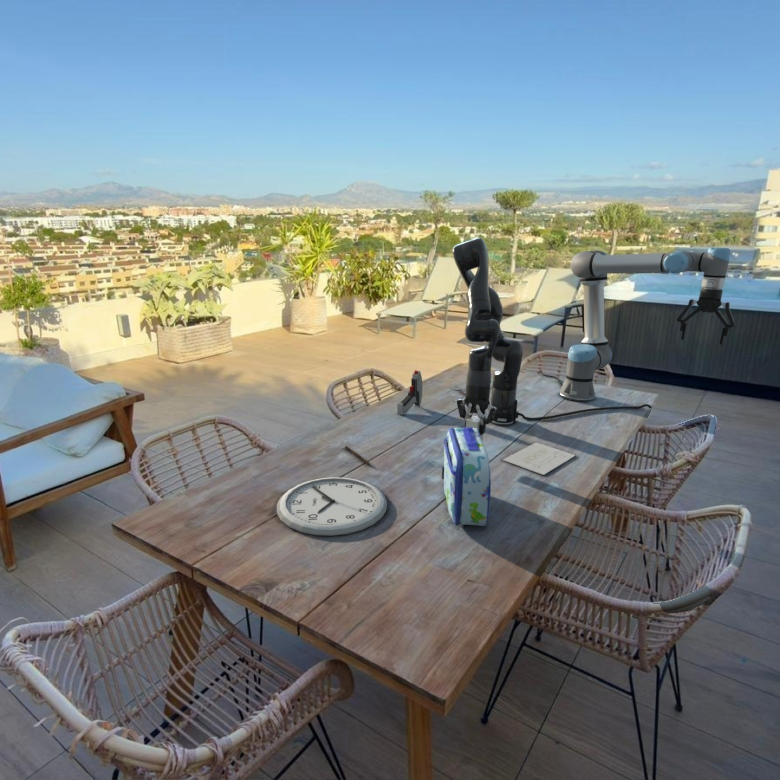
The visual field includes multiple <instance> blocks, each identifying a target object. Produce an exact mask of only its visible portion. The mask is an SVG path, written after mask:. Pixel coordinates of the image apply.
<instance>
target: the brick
mask: <svg viewBox="0 0 780 780" xmlns="http://www.w3.org/2000/svg"><path fill="white" fill-rule="evenodd" d="M479 425H480V420H479V418H478V415H472V417H470V418H468V419H467V420H466V427H472V428H477V429H478V430H479ZM480 436H481V440H482V442H484V434H483V435H480Z"/></svg>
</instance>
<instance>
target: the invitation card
mask: <svg viewBox="0 0 780 780" xmlns="http://www.w3.org/2000/svg"><path fill="white" fill-rule="evenodd" d="M576 456H577V455H576V454H573V453H570V452H567V451H565V450H561V449H558V448H555V447H552V446H549V445H546V444H543V443H539V442H534V443H532V444H529V445H528V446H526V447H524V448H522V449H520V450H518V451H516V452H514V453H512V454H510V455H509V456H507V457H505V458H503V459H502V461H503V462H506V463H509V464H511V465H514V466H518V467H520V468H523V469H525V470H528V471H531V472H534V473H536V474H539V475H541V476H545V475H547V474H548V473H550V472H552V471H554V469H556V468H558V467H559V466H561V465H563V464H564V463H566V462H568V461H570V460H571V459H572V458H574V457H576Z"/></svg>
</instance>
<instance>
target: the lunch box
mask: <svg viewBox="0 0 780 780" xmlns="http://www.w3.org/2000/svg"><path fill="white" fill-rule="evenodd" d="M483 442H484V441H483ZM483 442H482V440H481V436H480V433H479V430H478V429H477V428H472V427H466V428H465V427H449V428H448V431H447V435H446V437H445V439H444V440H443V448H444V450H443V465H442V466H441V467H442V468H441V480H443V493H444V495H445V500H446V506H447V510H448V515H449V517H450V519H451V521H452V523H453V524H454V525H455V527H458V526H465V525H469V526H480V527H485V526H487V524H488V521H489V516H490V507H491V490H492V489H491V487H492V483H491V481H492V480H491V479H492V478H491V477H492V476H491V467H490V463H489V455H488V451H487V449H486V447H485V445H484V443H483Z"/></svg>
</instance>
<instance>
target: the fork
mask: <svg viewBox="0 0 780 780" xmlns="http://www.w3.org/2000/svg"><path fill="white" fill-rule="evenodd" d="M450 385H451V387H452V389H453V390H457V391H458V392H459V393H460V394H462V395H463V396H465V397H466V392H464V391H463V390H460V389H459V387H458V385H457V383H456V382H454V383H451V384H450Z"/></svg>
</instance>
